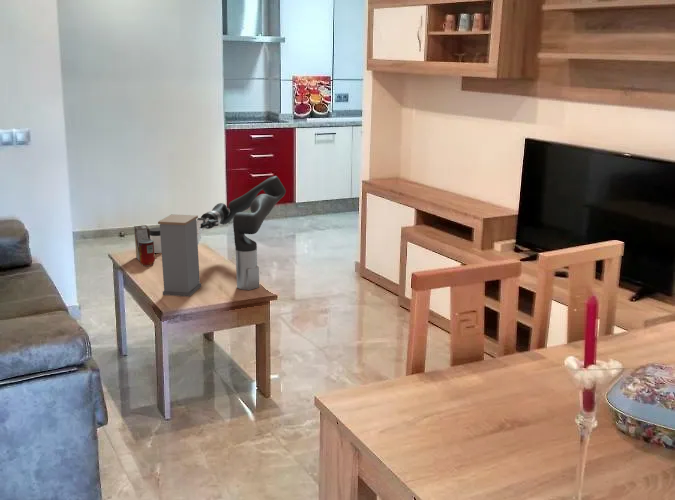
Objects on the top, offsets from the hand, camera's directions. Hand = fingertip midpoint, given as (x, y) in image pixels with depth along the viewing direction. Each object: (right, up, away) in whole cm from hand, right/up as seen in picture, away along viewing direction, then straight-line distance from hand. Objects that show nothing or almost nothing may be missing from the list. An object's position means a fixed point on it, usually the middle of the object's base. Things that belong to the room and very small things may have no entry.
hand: (197, 225), depth 326 cm
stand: (-4, -28, -14) cm, 32 cm away
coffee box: (-33, -15, +34) cm, 50 cm away
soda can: (-29, -18, +24) cm, 42 cm away
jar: (-29, -12, +46) cm, 56 cm away
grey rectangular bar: (0, -5, -1) cm, 5 cm away
